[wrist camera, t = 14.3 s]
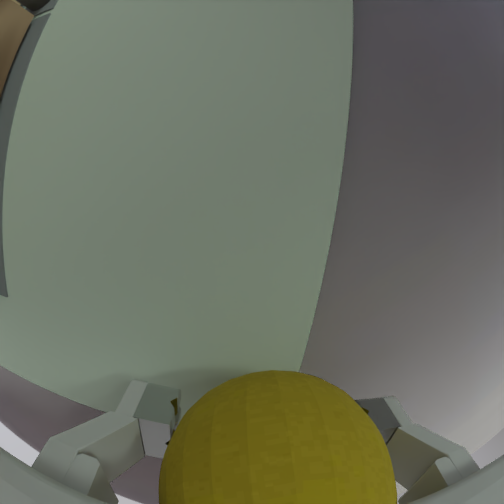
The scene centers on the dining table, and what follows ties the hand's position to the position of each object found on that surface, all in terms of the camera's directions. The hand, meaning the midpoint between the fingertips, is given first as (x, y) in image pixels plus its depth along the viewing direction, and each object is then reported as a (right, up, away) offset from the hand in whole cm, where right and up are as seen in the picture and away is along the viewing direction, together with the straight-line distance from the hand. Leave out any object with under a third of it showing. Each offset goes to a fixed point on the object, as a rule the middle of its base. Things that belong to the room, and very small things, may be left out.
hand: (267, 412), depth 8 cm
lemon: (0, 0, +1) cm, 1 cm away
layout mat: (-11, +10, -1) cm, 15 cm away
